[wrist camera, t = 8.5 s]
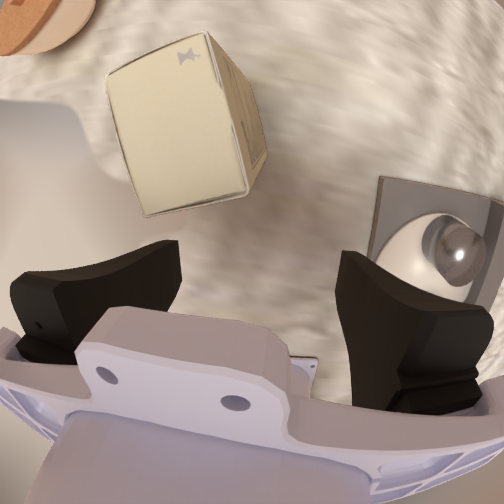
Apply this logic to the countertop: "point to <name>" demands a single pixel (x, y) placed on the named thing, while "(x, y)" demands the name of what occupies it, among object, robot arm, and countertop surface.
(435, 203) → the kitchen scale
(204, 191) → the skincare box
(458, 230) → the cylinder
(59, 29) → the lidded jar
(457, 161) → the countertop surface
